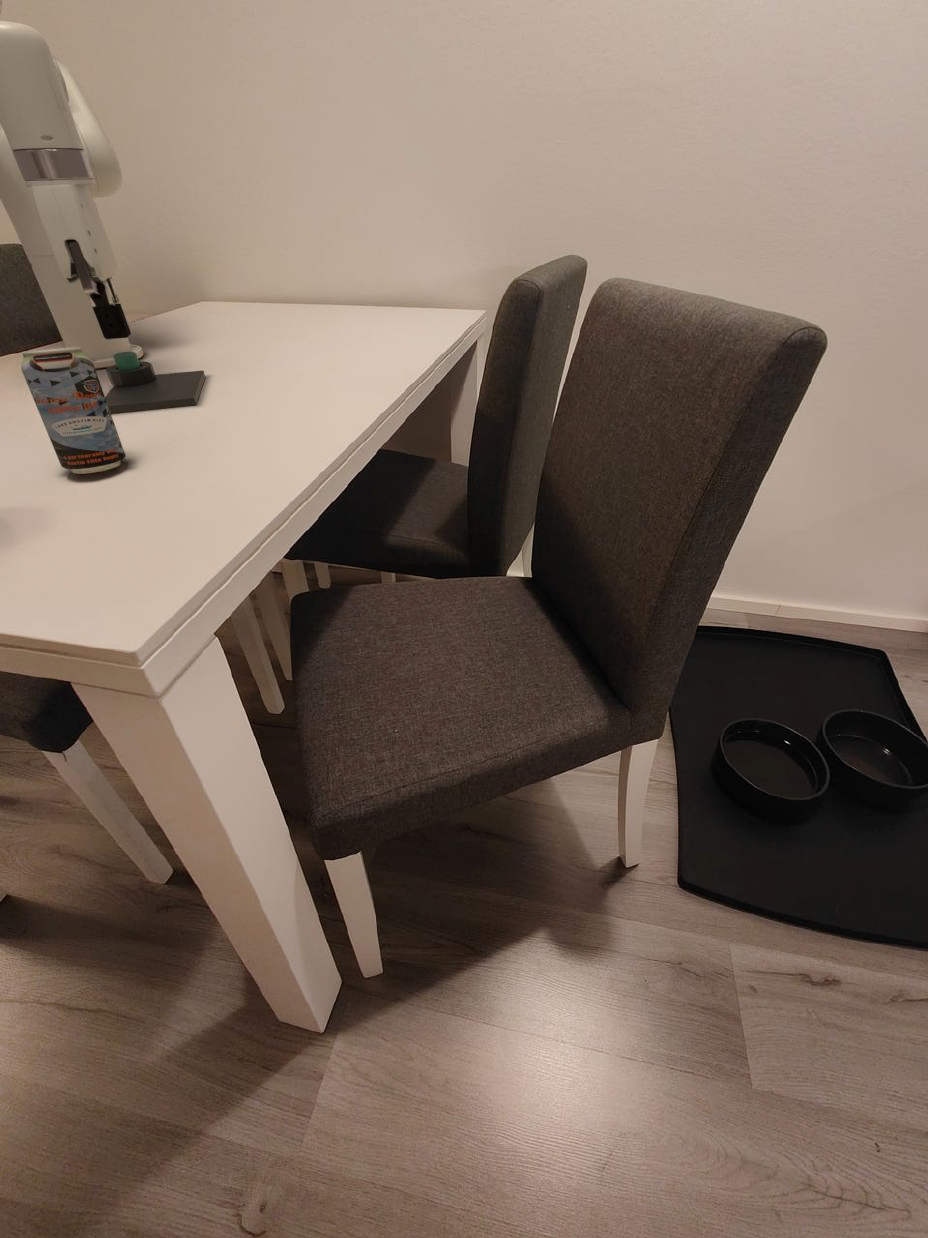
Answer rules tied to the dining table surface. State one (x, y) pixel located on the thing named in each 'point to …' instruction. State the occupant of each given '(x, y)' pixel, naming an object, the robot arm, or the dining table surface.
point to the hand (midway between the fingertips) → (118, 336)
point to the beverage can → (73, 409)
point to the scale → (151, 389)
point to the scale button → (126, 360)
